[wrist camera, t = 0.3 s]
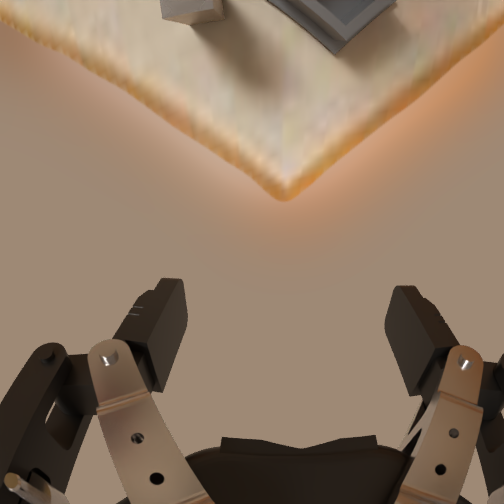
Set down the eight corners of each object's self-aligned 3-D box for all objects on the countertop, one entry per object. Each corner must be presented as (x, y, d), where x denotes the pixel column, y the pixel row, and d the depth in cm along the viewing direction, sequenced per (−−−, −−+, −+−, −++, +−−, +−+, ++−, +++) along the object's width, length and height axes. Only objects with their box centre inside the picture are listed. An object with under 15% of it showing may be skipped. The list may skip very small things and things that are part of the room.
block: (189, 25, 26) (162, 19, 17) (185, -4, 23) (156, -22, 14) (224, 19, 25) (213, 8, 16) (220, -10, 23) (208, -33, 14)
